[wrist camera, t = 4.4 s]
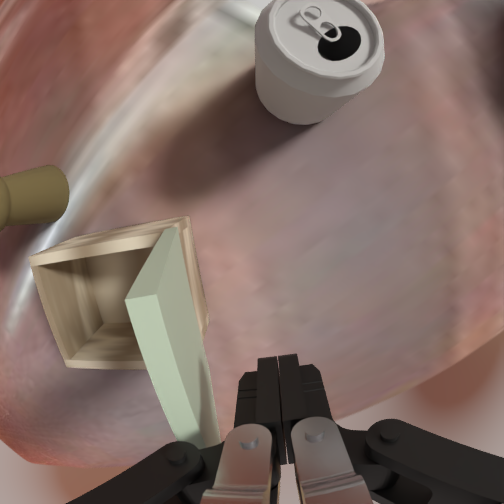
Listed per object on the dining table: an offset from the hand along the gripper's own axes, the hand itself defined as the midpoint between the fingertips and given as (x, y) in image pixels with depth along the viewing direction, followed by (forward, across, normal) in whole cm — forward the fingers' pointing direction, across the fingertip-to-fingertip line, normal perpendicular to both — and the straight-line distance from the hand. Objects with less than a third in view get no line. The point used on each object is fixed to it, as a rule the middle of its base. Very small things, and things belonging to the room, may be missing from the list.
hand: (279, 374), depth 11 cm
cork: (+16, +21, -10) cm, 29 cm away
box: (+16, +12, 0) cm, 20 cm away
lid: (+2, +5, 0) cm, 5 cm away
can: (+17, -5, -15) cm, 23 cm away
